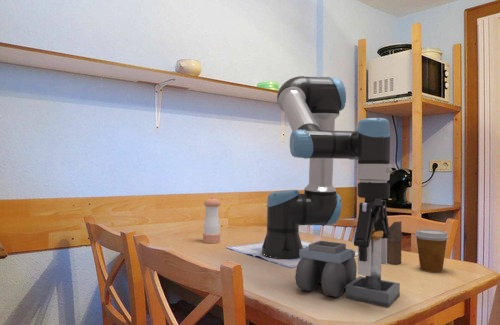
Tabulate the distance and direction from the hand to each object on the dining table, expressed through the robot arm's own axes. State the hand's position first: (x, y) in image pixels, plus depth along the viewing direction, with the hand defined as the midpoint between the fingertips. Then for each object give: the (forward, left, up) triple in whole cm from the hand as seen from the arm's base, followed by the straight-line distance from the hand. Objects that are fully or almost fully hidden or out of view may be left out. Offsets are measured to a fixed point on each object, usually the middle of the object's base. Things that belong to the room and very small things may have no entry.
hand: (373, 269), depth 91 cm
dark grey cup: (-11, +8, -7) cm, 16 cm away
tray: (0, 0, -7) cm, 7 cm away
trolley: (-12, -1, -7) cm, 14 cm away
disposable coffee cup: (+7, +37, -7) cm, 38 cm away
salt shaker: (-77, +29, -7) cm, 83 cm away
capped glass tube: (0, 0, -6) cm, 6 cm away
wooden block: (-8, +40, -7) cm, 41 cm away
